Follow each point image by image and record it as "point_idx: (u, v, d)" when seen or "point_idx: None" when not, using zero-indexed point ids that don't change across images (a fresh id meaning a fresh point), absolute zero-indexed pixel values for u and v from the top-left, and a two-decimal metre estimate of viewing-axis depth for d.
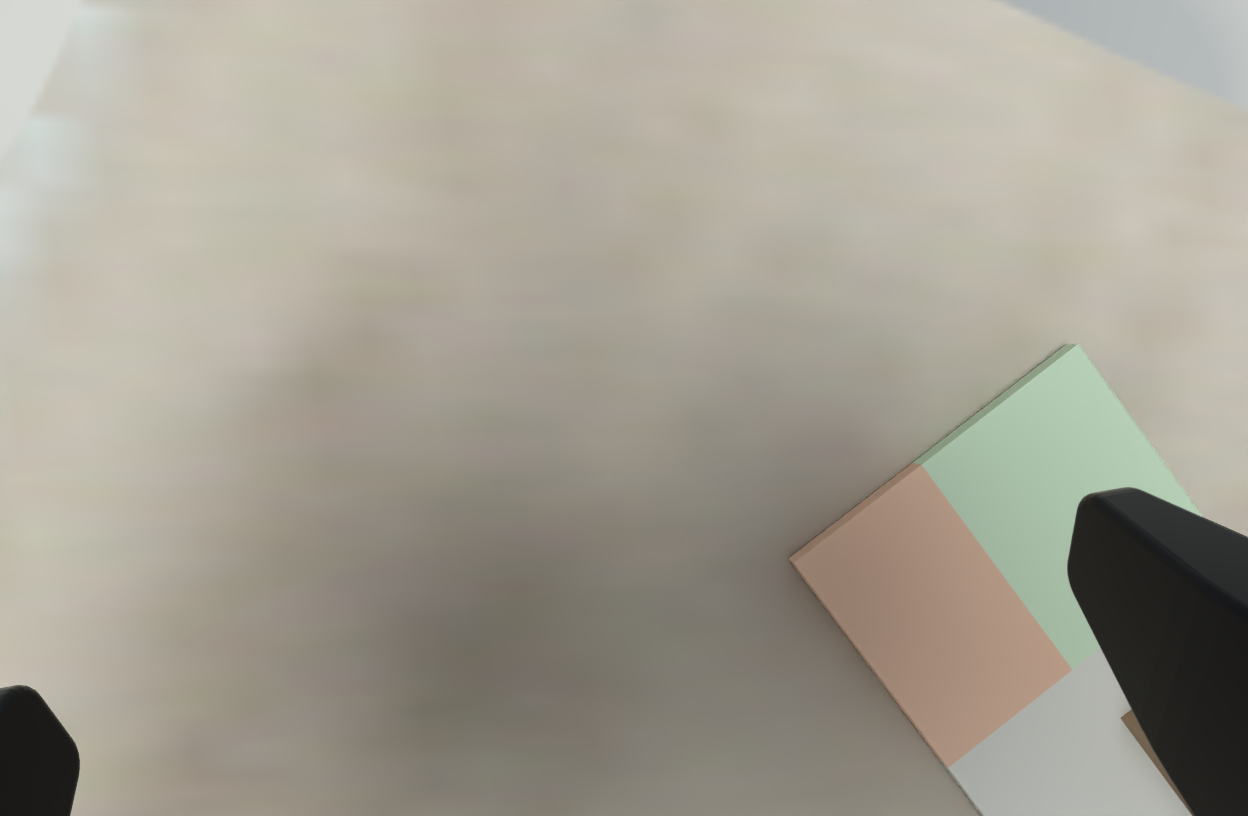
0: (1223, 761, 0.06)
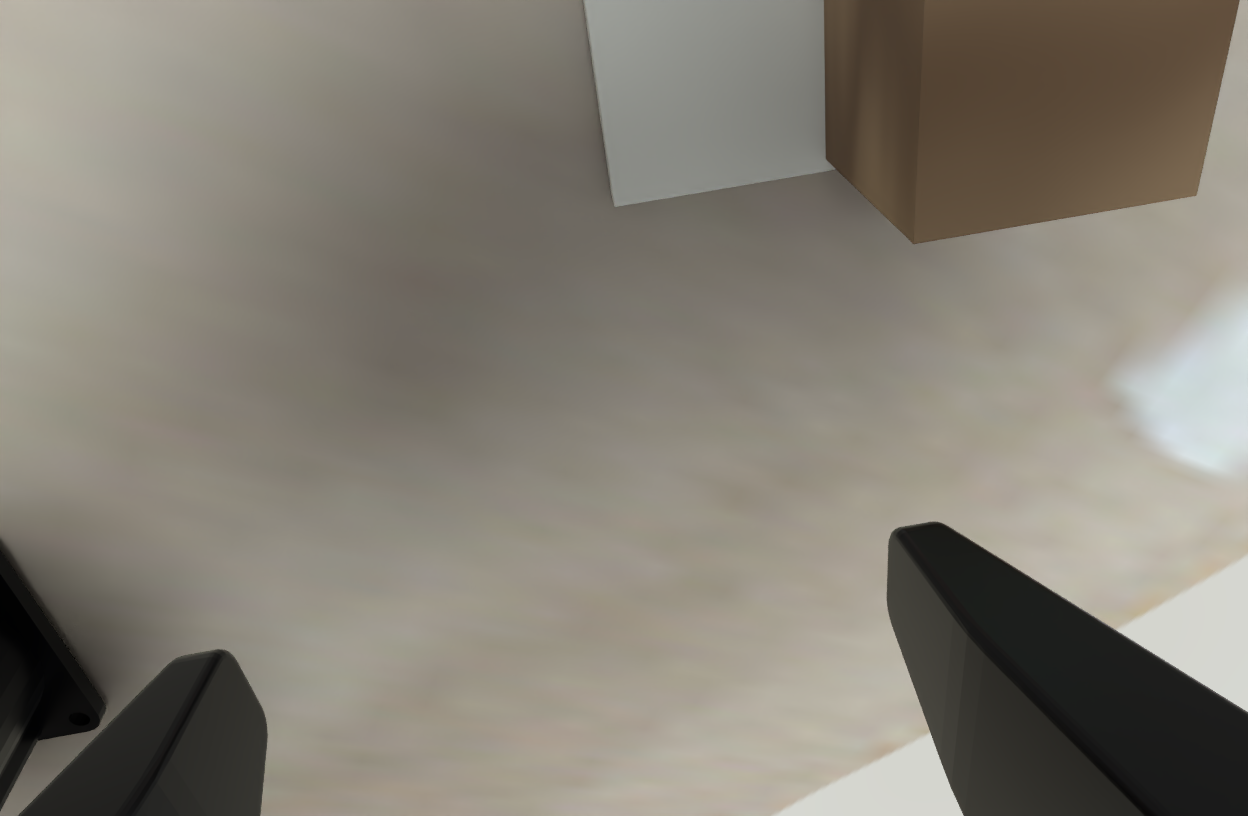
0: (997, 803, 0.06)
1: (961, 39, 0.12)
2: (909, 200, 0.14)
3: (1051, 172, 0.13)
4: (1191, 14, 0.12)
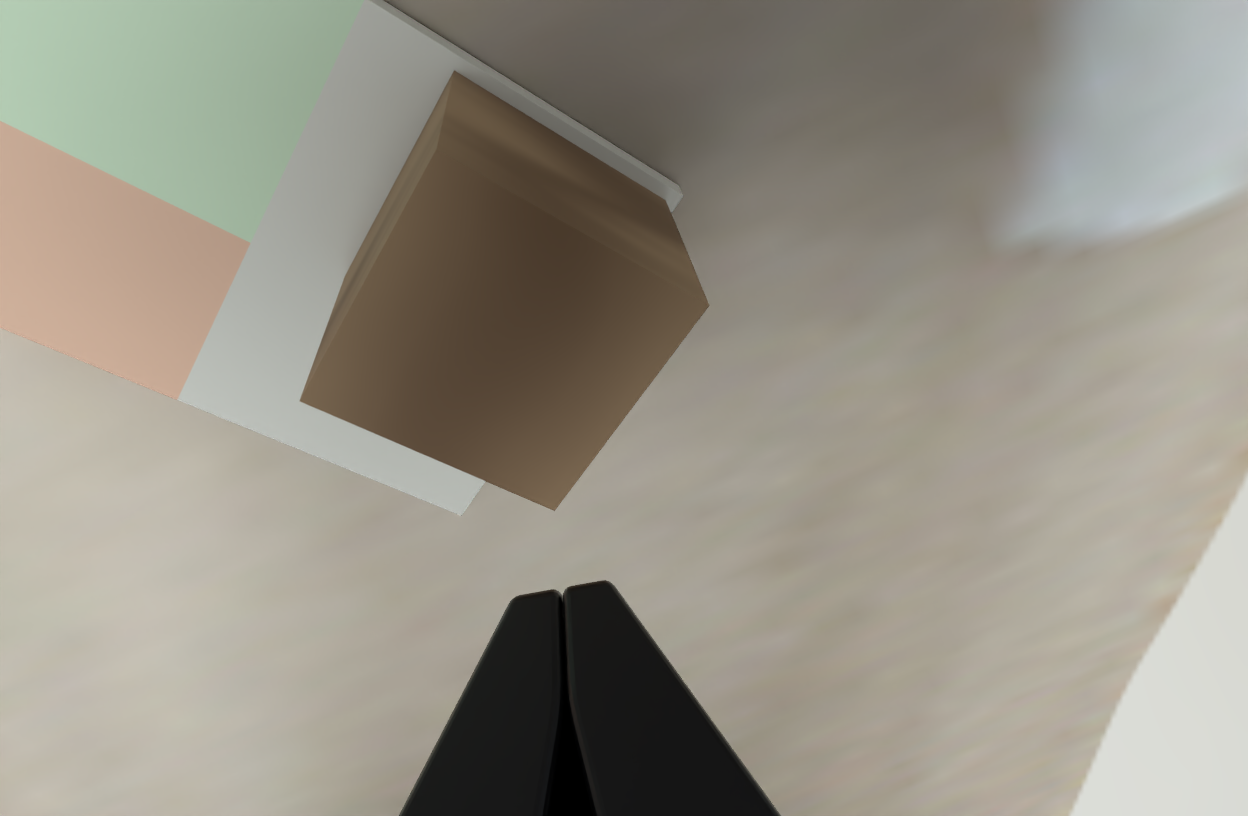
0: None
1: (411, 418, 0.14)
2: None
3: (579, 402, 0.14)
4: (528, 253, 0.13)
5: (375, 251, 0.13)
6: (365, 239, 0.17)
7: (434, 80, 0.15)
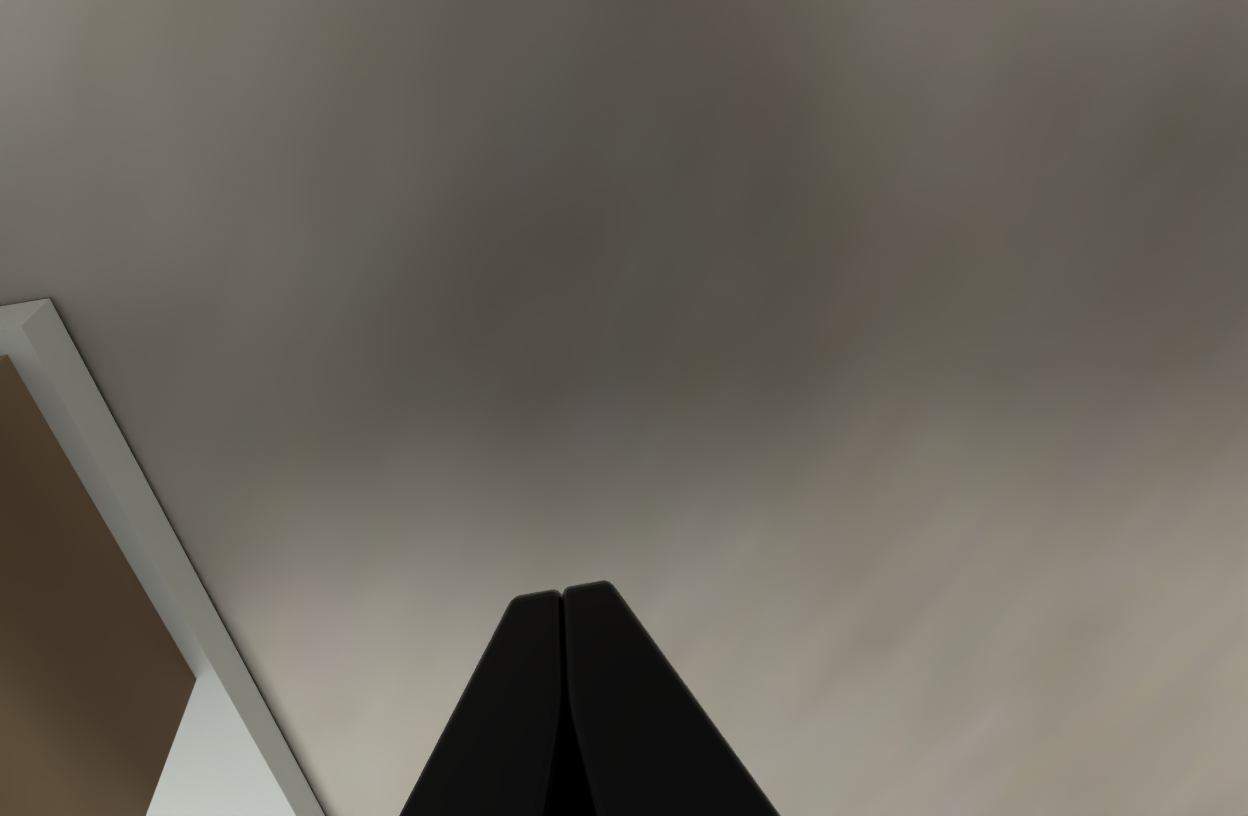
0: None
1: None
2: None
3: None
4: None
5: None
6: None
7: None
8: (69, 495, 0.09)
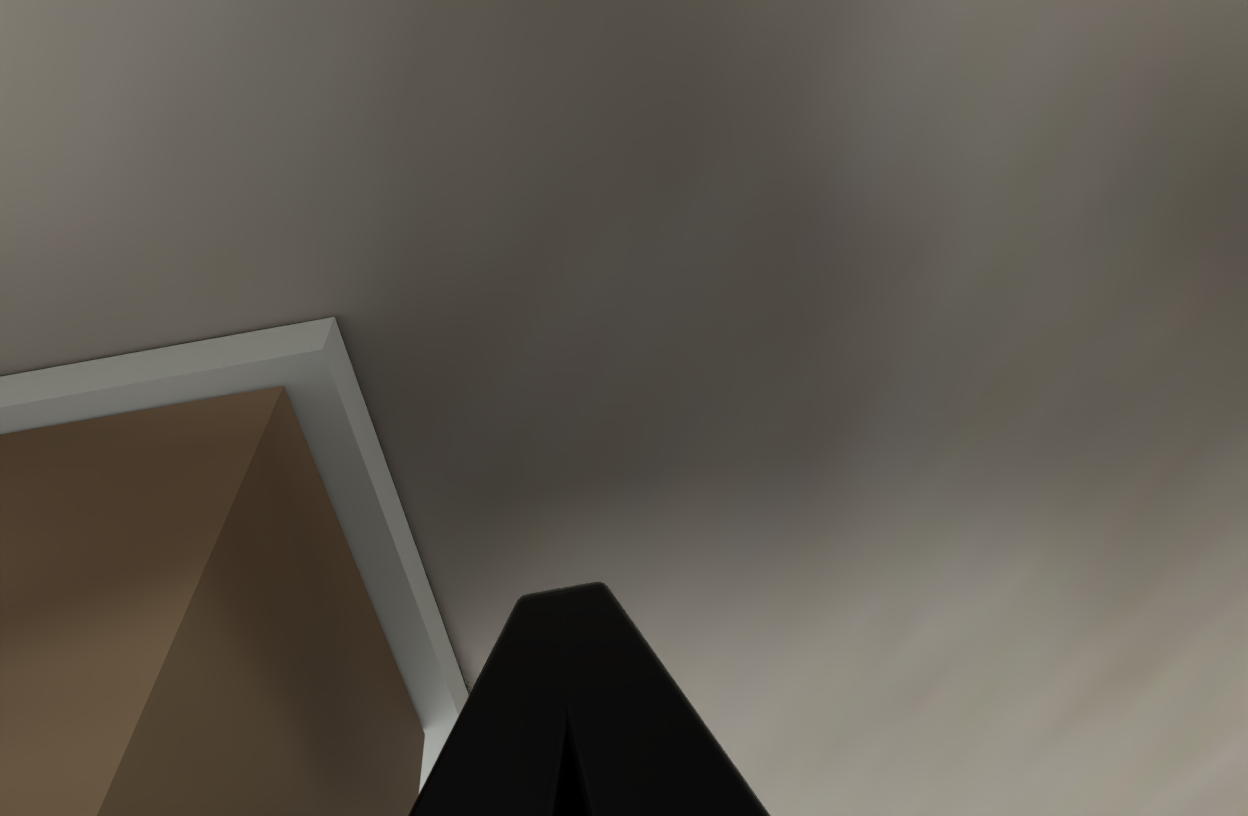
0: None
1: None
2: None
3: None
4: None
5: None
6: None
7: None
8: (334, 541, 0.08)
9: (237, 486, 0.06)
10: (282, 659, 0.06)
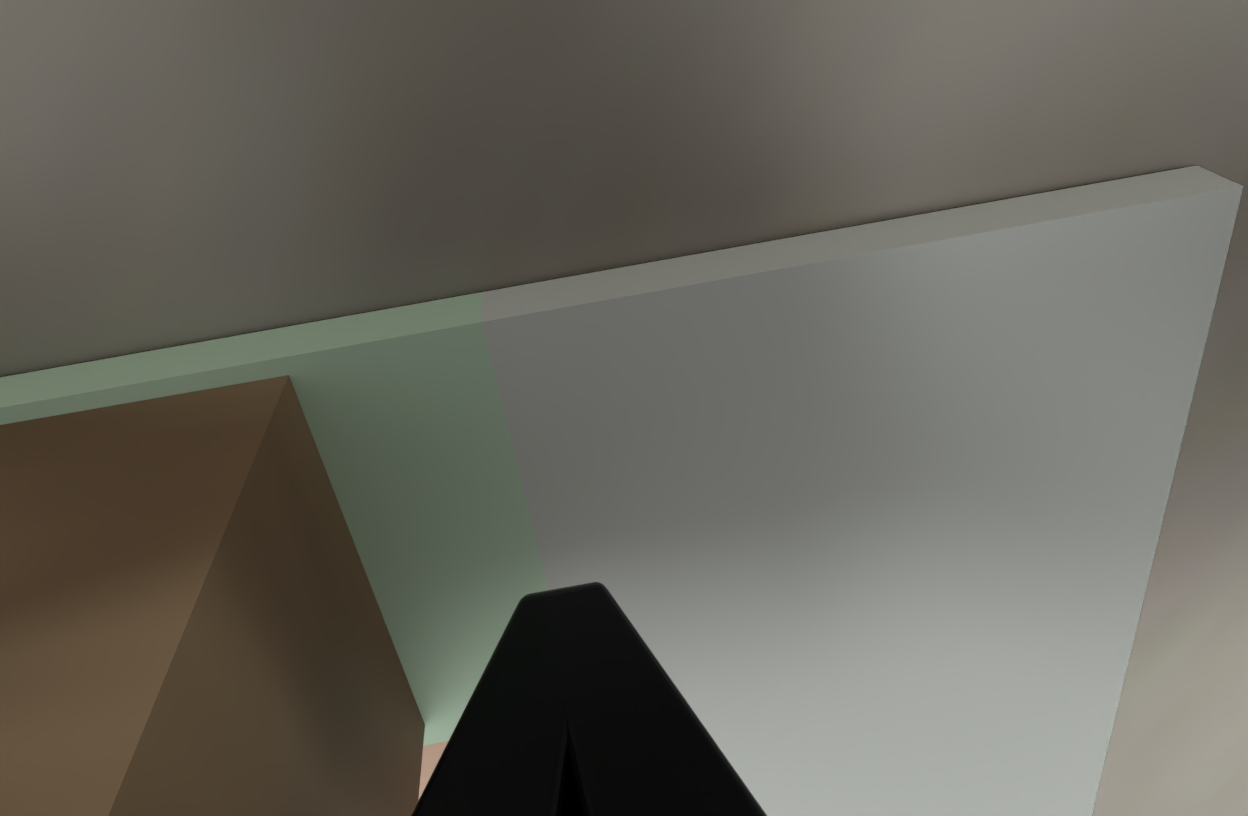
0: None
1: None
2: None
3: None
4: None
5: None
6: None
7: (673, 350, 0.08)
8: (337, 530, 0.08)
9: (246, 472, 0.06)
10: (291, 643, 0.06)
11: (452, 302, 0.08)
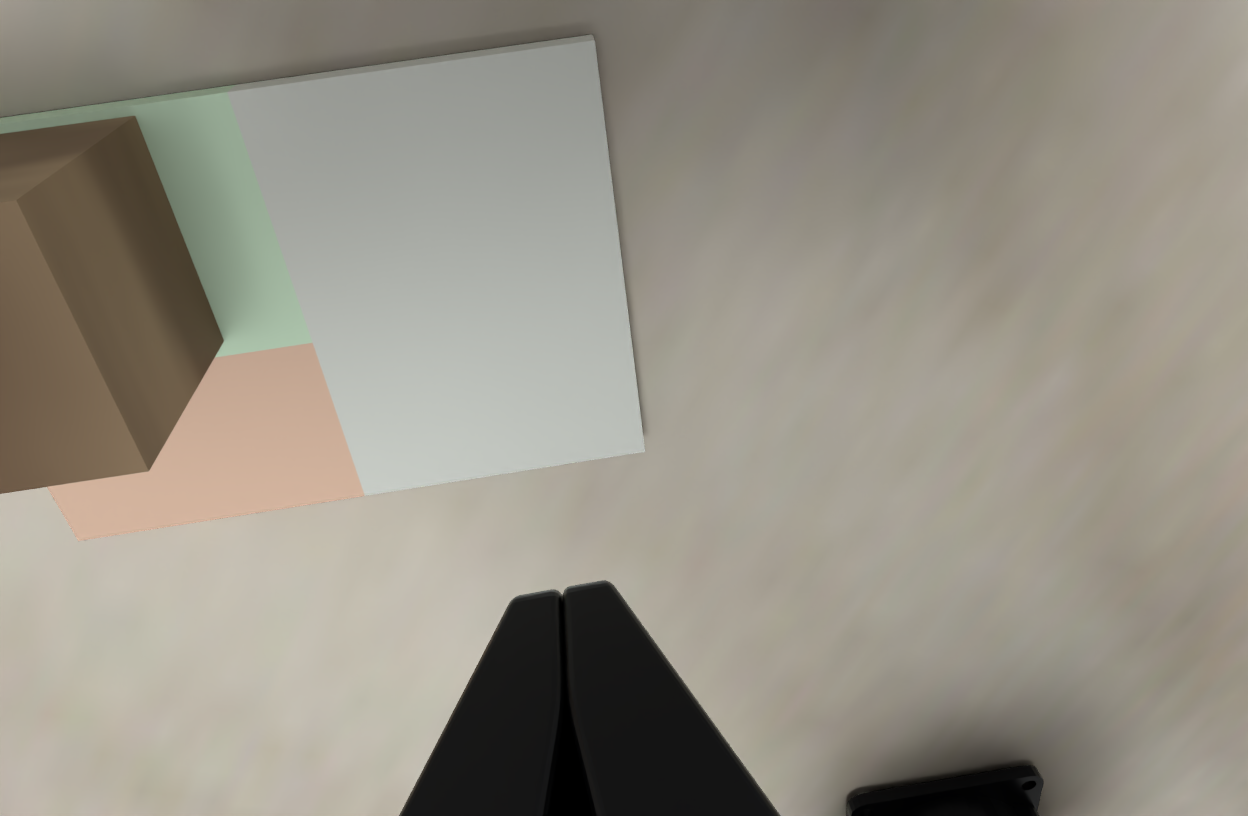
0: None
1: None
2: None
3: (39, 366, 0.13)
4: None
5: None
6: None
7: (325, 113, 0.16)
8: (162, 201, 0.16)
9: (104, 137, 0.15)
10: (124, 217, 0.15)
11: (219, 87, 0.16)
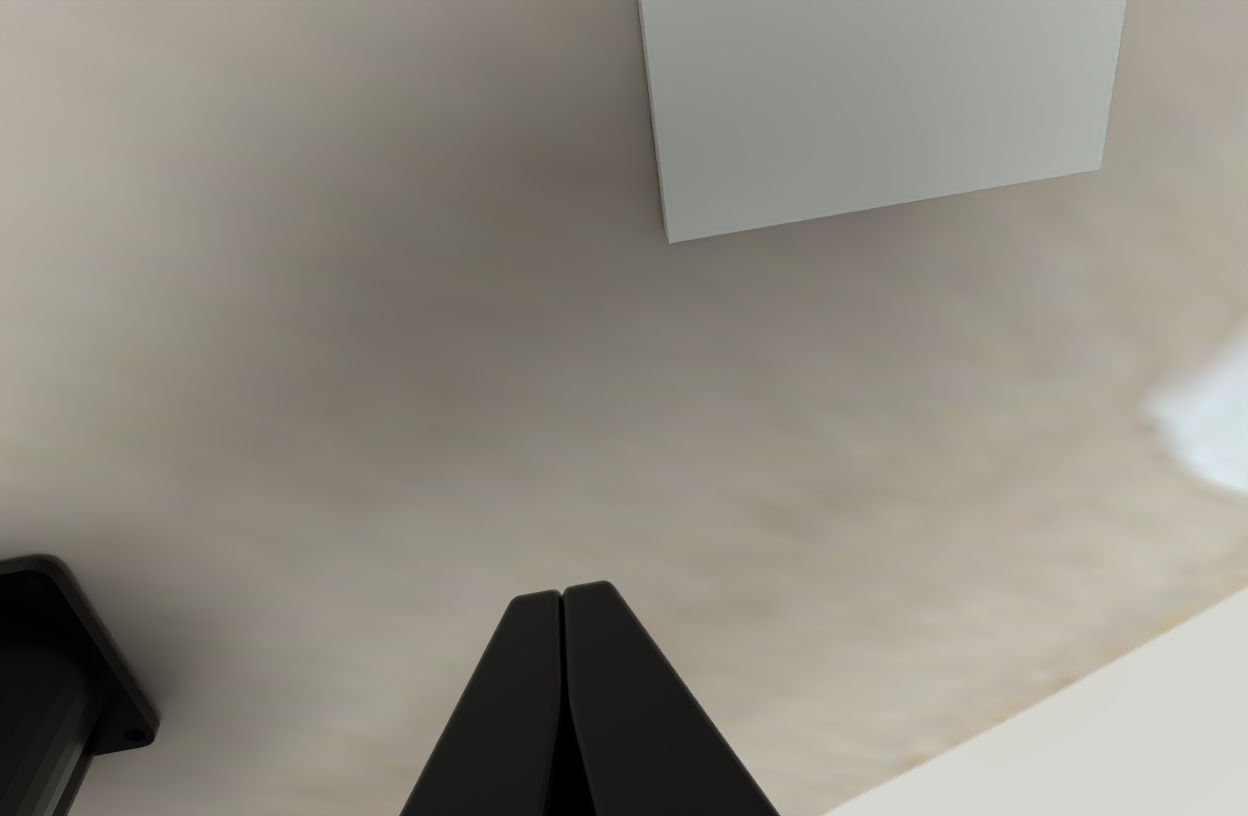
0: None
1: None
2: None
3: None
4: None
5: None
6: None
7: None
8: None
9: None
10: None
11: None
